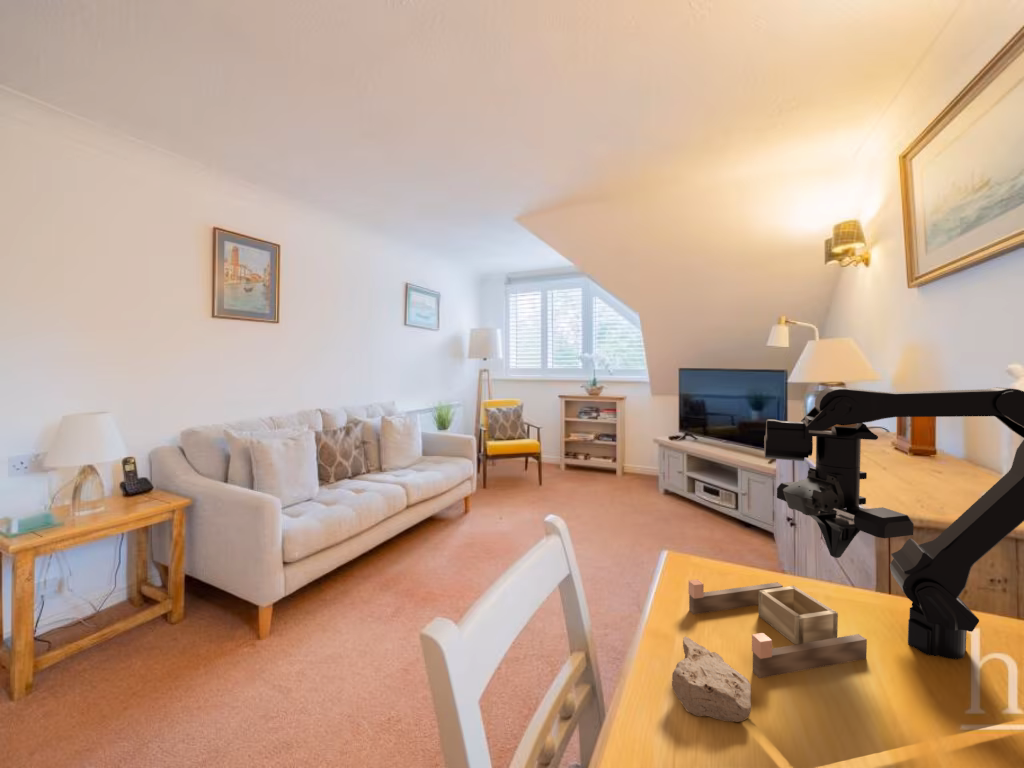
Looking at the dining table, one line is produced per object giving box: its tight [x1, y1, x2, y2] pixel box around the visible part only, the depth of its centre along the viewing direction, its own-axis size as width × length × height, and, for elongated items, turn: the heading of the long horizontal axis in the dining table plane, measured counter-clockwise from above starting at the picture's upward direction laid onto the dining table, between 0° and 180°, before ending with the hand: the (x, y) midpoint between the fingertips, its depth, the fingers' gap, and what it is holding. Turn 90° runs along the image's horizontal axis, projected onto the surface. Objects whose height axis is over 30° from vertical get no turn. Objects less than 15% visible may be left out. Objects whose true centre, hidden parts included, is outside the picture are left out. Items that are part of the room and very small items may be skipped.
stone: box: [671, 636, 752, 723], centre depth 55 cm, size 9×11×5 cm
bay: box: [688, 579, 868, 679], centre depth 66 cm, size 18×16×6 cm
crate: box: [758, 585, 839, 645], centre depth 67 cm, size 7×8×4 cm
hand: (835, 556), depth 68 cm, fingers closed
